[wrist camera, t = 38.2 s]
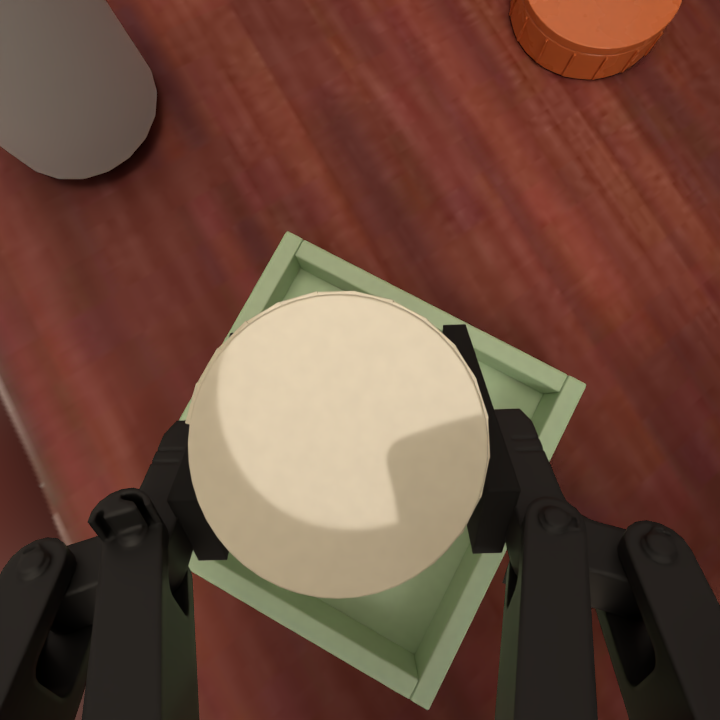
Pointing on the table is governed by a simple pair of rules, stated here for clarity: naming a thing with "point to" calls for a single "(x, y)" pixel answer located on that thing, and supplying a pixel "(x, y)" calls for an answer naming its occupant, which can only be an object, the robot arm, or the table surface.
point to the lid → (589, 33)
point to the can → (71, 87)
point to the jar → (338, 444)
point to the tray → (458, 564)
